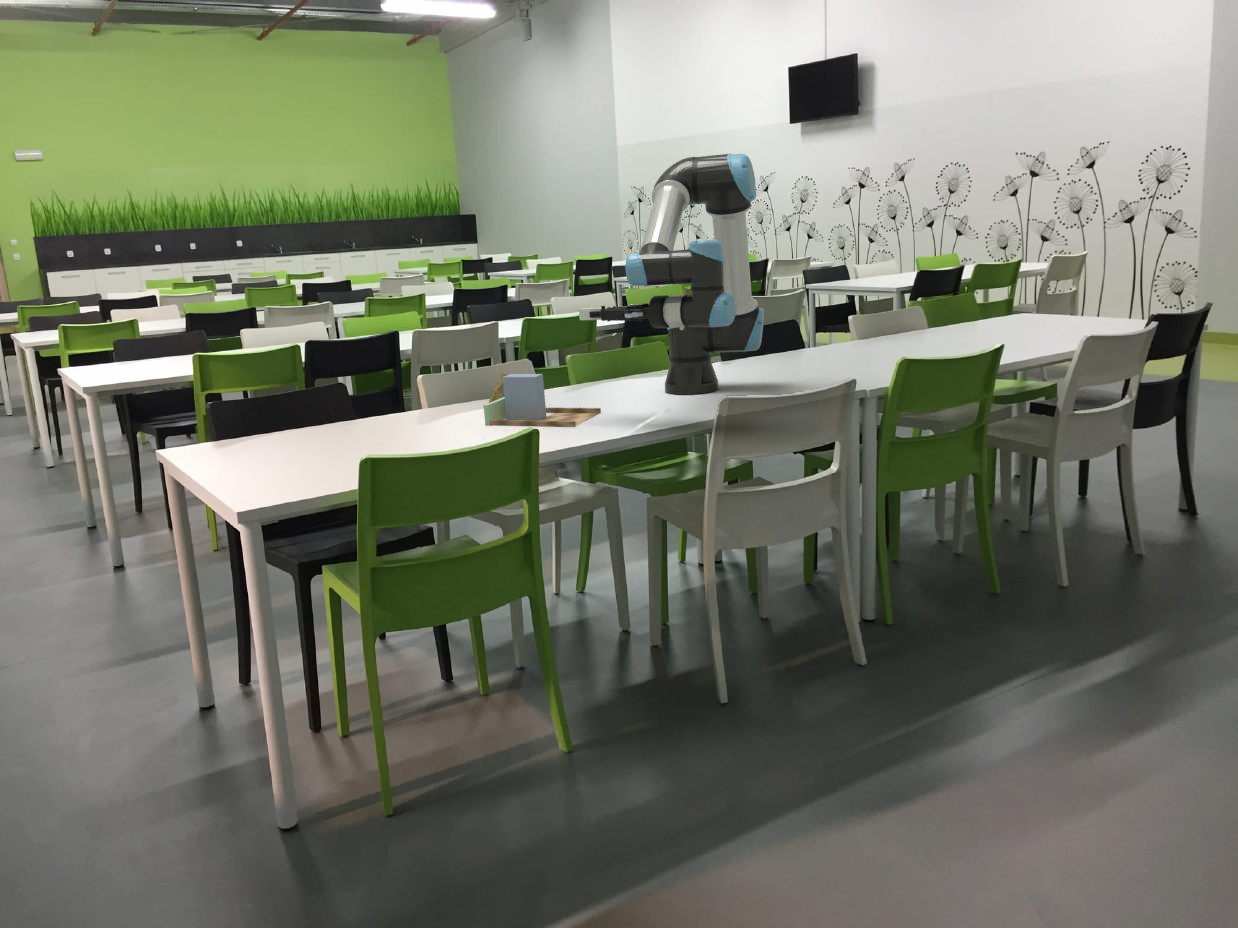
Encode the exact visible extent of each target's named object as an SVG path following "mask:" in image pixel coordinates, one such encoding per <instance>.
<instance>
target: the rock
mask: <svg viewBox="0 0 1238 928" xmlns="http://www.w3.org/2000/svg"><path fill="white" fill-rule="evenodd" d="M507 375H508V374H506V373H501V374H500V377H499V379H498V380H497V382H496V383H495V387H494V389H493V392H492V394H491V395H490V397H489V399H488V400H489V401H488V403H490V402H493V401H495V400H498V399H500V398H503V397H504V387H503V377H504V376H507Z"/></svg>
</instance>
